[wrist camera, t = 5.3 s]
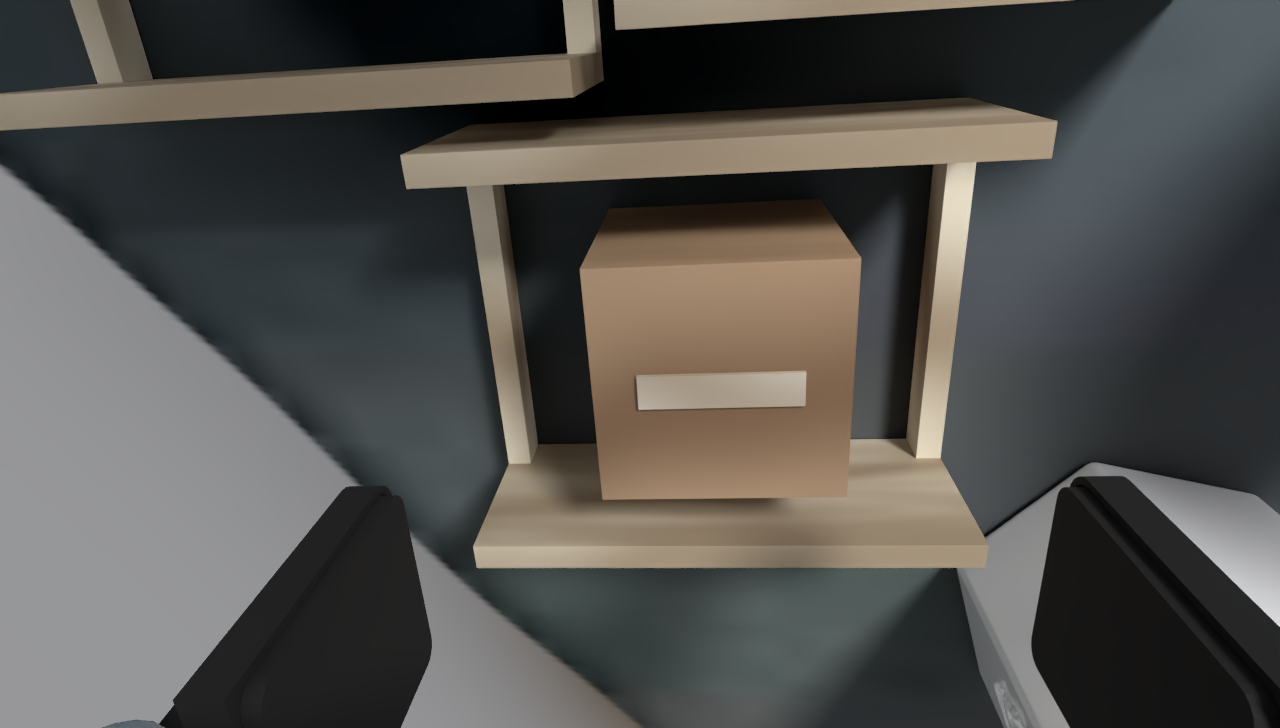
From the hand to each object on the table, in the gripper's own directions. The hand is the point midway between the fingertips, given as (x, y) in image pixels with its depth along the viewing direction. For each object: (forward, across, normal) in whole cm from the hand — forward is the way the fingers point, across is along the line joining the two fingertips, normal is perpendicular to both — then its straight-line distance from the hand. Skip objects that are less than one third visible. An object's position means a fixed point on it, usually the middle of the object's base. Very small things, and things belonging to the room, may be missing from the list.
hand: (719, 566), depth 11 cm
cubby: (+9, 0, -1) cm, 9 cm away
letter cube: (+9, 0, -1) cm, 9 cm away
